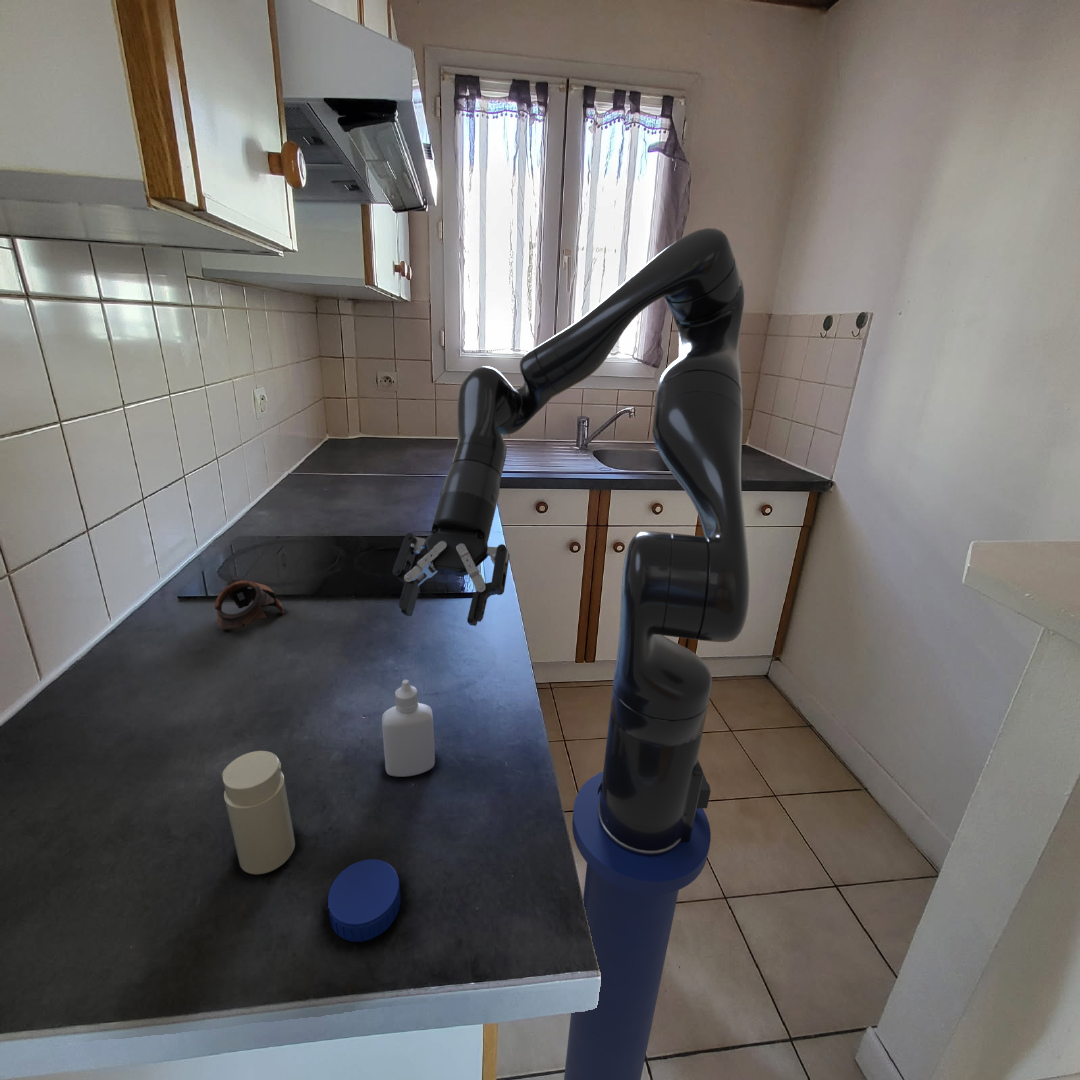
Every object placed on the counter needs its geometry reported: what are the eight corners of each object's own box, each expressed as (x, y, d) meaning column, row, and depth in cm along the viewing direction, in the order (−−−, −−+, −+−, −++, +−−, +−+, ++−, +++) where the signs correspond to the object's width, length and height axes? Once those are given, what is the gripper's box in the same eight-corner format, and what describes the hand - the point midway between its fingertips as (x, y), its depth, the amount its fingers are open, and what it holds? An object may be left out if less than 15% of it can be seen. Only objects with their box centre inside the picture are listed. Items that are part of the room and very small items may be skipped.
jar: (300, 826, 57) (287, 746, 53) (288, 871, 53) (272, 787, 49) (248, 831, 56) (231, 751, 52) (231, 878, 52) (210, 793, 48)
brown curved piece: (298, 619, 95) (277, 594, 89) (249, 658, 91) (223, 634, 85) (263, 582, 101) (240, 555, 94) (215, 617, 97) (188, 591, 90)
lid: (316, 908, 50) (314, 890, 49) (376, 863, 54) (375, 846, 53) (353, 959, 46) (351, 940, 45) (414, 906, 50) (413, 888, 49)
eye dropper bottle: (397, 748, 68) (391, 665, 63) (440, 757, 67) (437, 674, 62) (379, 774, 64) (372, 688, 60) (424, 785, 63) (420, 698, 58)
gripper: (523, 520, 77) (499, 635, 71) (426, 509, 79) (395, 619, 73) (515, 495, 70) (487, 619, 64) (409, 483, 73) (373, 602, 66)
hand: (438, 619), depth 69 cm, fingers open, 8 cm apart
